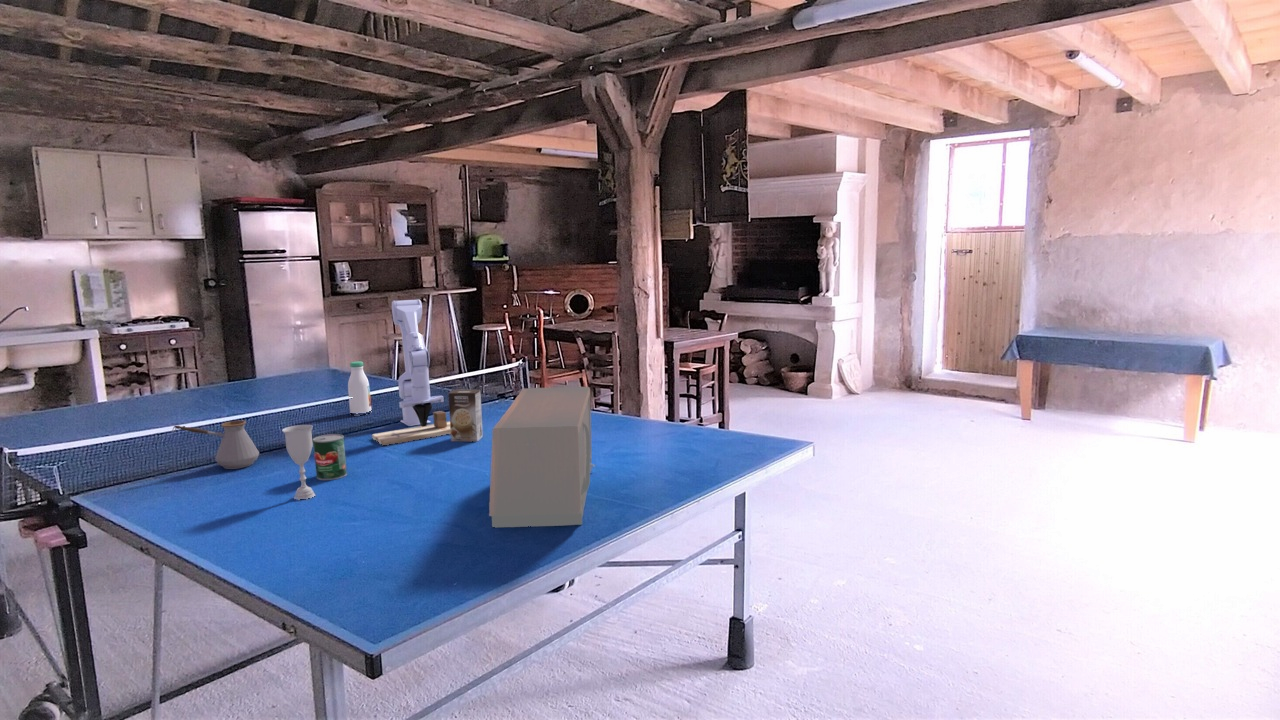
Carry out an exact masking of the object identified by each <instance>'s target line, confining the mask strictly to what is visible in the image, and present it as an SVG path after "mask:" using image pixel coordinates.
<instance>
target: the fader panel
mask: <svg viewBox="0 0 1280 720" xmlns="http://www.w3.org/2000/svg"><path fill="white" fill-rule="evenodd" d="M446 434H449V435H451V429H450V420H449V421H447V427H441V428H437V427H435V426H434V423H432V424H431V423H430V424H427V426H424V427H422V426H421V425H420V426H419V425H418V426H413V427H408V428H402V429H395V430H389V431H384V432H378V433H373V434H371V437H372V438H373V439H372V440H374V441H375V440H376V441H375V442H377V441H378V442H379V443H378V442H377V443H378V444H379V445H381V444H382V445H381V446H383V445H387V446H390V445H389V444H393V445H396V444H395V443H398V444H402V442H404V443H409V442H414V441H413V440H415V441H420V440H419V439H421V440H426V439H431V438H430V437H432V438H437V437H441V435H443V436H447V435H446ZM436 436H437V437H436ZM425 438H426V439H425ZM408 441H409V442H408Z"/></svg>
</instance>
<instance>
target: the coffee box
mask: <svg viewBox="0 0 1280 720" xmlns="http://www.w3.org/2000/svg"><path fill="white" fill-rule="evenodd" d="M481 393H482V392H481V389H466V388H465V389H464V388H463V389H460V388H459V389H458V388H457V389H456V388H455V389H454V388H453V390H451V391H450V392H448V407H449V409H448V411H449V421H450V429H451V434H450V442H472V441H473V442H475V443H476V442H477V443H478V442H479V441H480V440H481V439H482V438H483V435H484V434H483V416H482V415H483V414H482V397H481V395H482V394H481ZM473 442H472V443H473Z"/></svg>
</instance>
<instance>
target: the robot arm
mask: <svg viewBox="0 0 1280 720" xmlns="http://www.w3.org/2000/svg"><path fill="white" fill-rule="evenodd" d="M391 312H392V313H391V314H392V321H393V325H395V326H398V327H399V329H400V332H401V340H402V341H401V342H402V350H403V361H404V370H405V372H403V373H402V374H401V375H400V376H399V377H398V380H397V381H398V382H397V383H398V395H399V398H400V399H401V400H402V401H399V402H398V404H399V408H400V409H401V411H402V419H401V420H400V422H401V423H402V424H404V425H406V426H408V427H411V426H413V427H415V426H419V425H420V426H422V427H424V426H427V425H428V424H431V420H428V418H429V415H430V413H431V410H432V409H433V405H432V404H435V403H436V404H437V403H445V402H444V400H445V399H444V396H443V395H434V396H433V395H431V389H430V386H431V385H430V373H429V367H430V365H431V364H430V363H431V362H430V361H431V360H430V353H429V350H428V348H427V347H426V345H425V344H426V343H425V339H424V336H423V335H422V334H421V333H419V327H418V324H419V323H421V320H422V316H423V304H422V301H421V300H420V298H419V299H418V298H417V299H404V300H392V302H391Z"/></svg>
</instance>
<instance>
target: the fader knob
mask: <svg viewBox="0 0 1280 720" xmlns="http://www.w3.org/2000/svg"><path fill="white" fill-rule="evenodd" d="M432 414H433V415H432V416H433V424H434V426H435V427H437V428H441V427H447V422H448V421H447V412H445V411H444V410H443V411H442V410H439V411H433V412H432Z"/></svg>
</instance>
